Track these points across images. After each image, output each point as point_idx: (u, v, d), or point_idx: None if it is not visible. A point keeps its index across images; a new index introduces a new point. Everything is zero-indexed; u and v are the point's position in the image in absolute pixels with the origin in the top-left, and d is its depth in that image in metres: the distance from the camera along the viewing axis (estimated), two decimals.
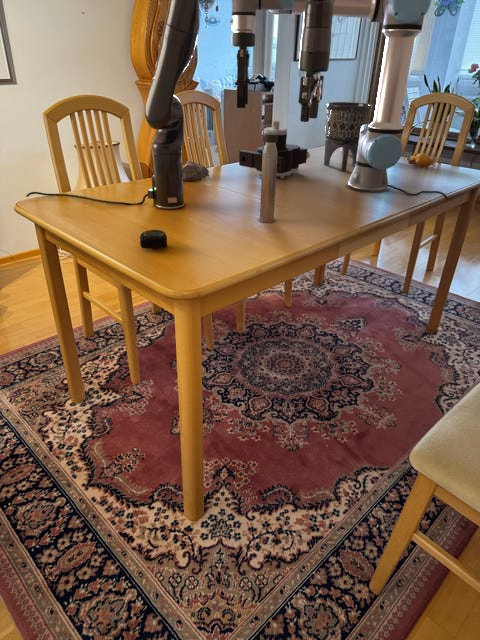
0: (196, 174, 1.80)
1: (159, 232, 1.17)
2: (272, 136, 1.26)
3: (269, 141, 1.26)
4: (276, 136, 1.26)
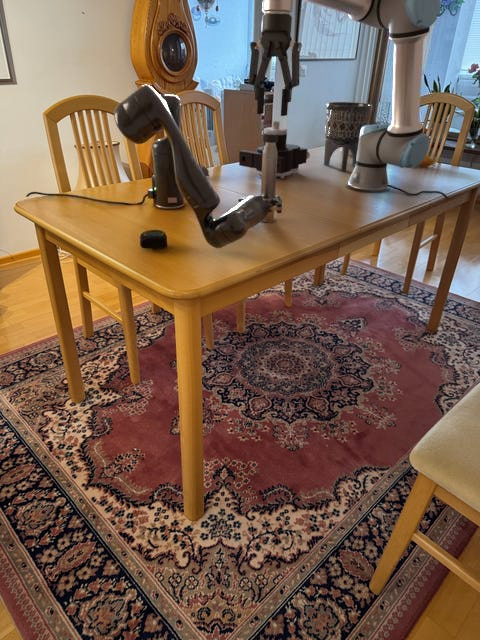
0: None
1: (159, 232, 1.17)
2: (272, 136, 1.26)
3: (269, 141, 1.26)
4: (276, 136, 1.26)
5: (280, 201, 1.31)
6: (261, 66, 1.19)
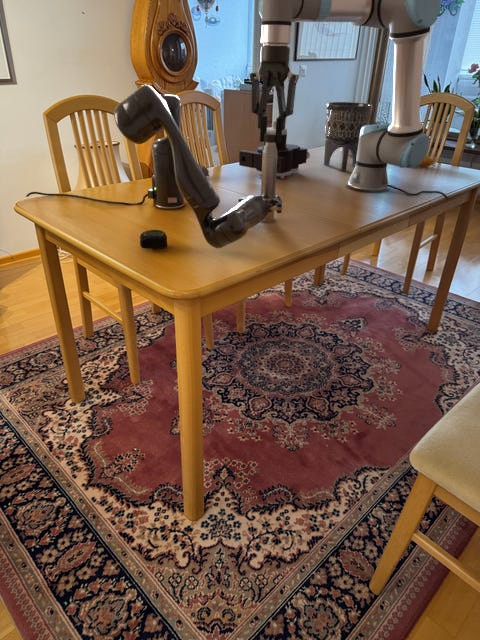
0: None
1: (159, 232, 1.17)
2: (272, 136, 1.26)
3: (269, 141, 1.26)
4: None
5: (280, 201, 1.31)
6: (262, 96, 1.23)
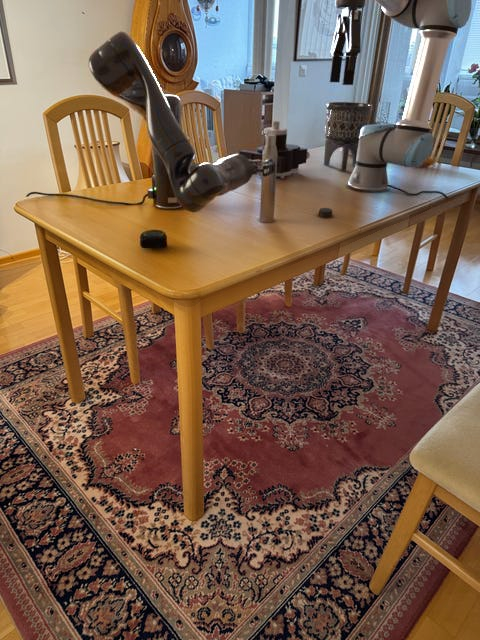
0: None
1: (159, 232, 1.17)
2: None
3: None
4: None
5: (270, 163, 1.13)
6: None
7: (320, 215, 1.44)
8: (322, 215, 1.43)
